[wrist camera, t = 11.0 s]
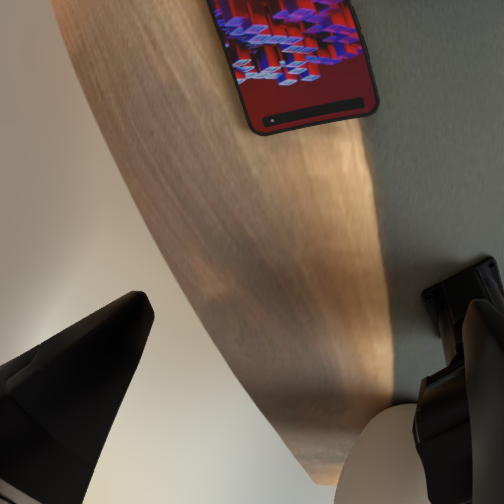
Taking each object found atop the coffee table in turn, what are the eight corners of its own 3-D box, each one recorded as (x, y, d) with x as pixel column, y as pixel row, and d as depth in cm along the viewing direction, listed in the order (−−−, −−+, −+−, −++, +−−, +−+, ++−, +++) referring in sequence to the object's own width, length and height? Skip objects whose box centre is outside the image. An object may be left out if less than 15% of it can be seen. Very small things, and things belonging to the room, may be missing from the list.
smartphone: (300, -105, 8) (384, 114, 15) (302, -99, 9) (382, 112, 16) (179, -65, 11) (251, 140, 18) (185, -61, 12) (255, 137, 18)
